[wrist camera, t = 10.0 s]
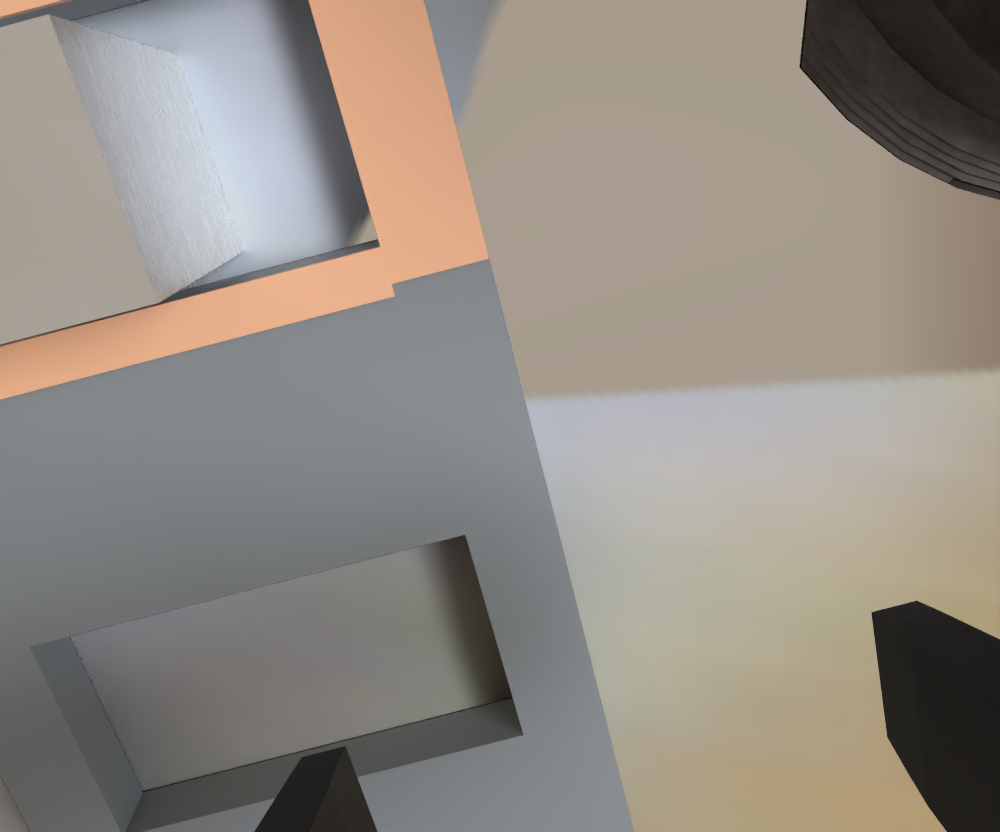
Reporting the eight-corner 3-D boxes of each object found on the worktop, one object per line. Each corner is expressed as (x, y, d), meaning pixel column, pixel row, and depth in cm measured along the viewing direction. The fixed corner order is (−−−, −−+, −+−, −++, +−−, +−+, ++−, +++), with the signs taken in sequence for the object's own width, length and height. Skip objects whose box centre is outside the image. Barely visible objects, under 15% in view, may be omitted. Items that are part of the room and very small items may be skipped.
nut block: (63, 298, 19) (-102, 371, 13) (-17, 105, 17) (-240, 91, 12) (244, 251, 19) (158, 302, 13) (177, 54, 17) (48, 14, 12)
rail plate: (130, 931, 24) (107, 989, 22) (-412, -126, 16) (-511, -156, 14) (626, 806, 24) (640, 855, 22) (338, -331, 15) (326, -385, 14)
